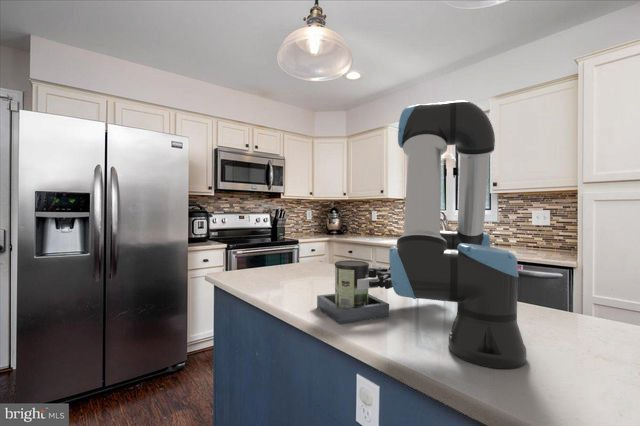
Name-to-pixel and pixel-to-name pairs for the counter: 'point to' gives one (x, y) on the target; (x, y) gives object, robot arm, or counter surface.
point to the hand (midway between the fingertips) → (346, 279)
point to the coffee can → (350, 283)
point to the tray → (352, 309)
